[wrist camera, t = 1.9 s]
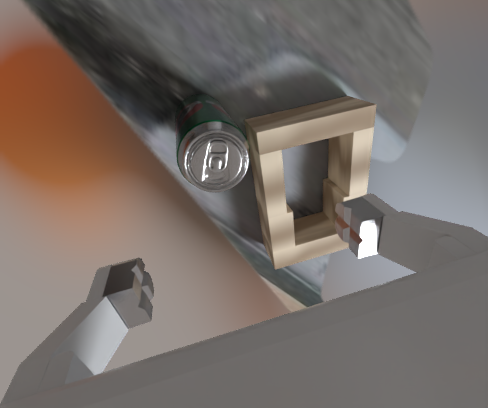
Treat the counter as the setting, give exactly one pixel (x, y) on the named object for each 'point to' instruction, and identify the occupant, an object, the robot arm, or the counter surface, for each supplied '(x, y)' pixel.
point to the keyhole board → (334, 187)
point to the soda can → (209, 145)
